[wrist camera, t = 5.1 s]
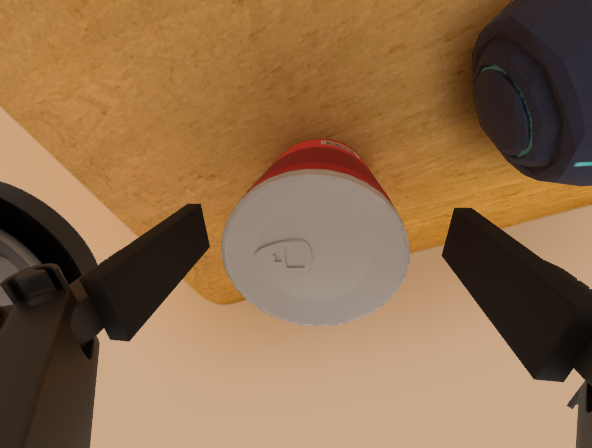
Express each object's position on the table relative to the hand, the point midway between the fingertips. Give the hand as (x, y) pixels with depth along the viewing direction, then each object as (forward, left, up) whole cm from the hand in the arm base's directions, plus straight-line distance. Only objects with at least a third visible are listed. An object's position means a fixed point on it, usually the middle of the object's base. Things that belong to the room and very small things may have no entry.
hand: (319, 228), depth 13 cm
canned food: (0, 0, -8) cm, 8 cm away
